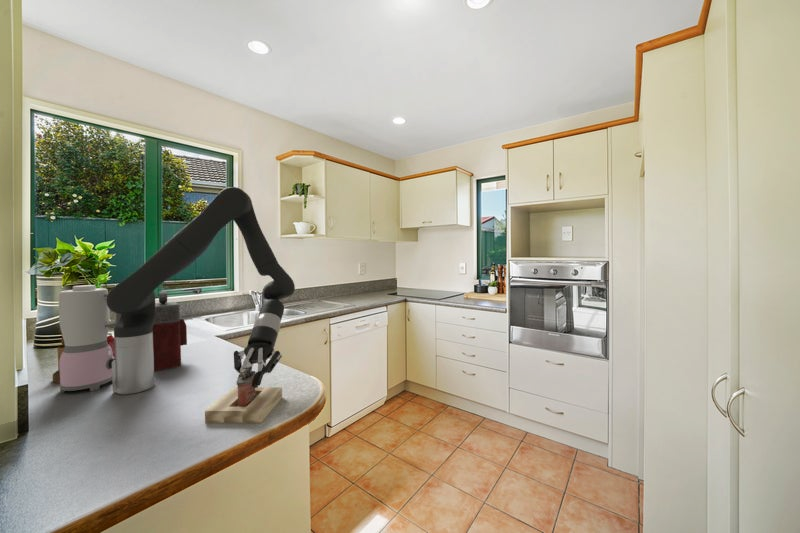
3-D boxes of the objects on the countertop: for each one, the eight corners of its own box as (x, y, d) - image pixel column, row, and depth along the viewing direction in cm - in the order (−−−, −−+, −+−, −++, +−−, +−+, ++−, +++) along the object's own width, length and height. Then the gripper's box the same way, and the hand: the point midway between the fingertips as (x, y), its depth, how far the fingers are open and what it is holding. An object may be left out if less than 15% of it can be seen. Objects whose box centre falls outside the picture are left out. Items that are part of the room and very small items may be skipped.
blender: (48, 396, 95) (42, 288, 93) (78, 380, 106) (74, 284, 105) (111, 391, 98) (107, 287, 97) (134, 376, 110) (130, 283, 109)
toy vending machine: (188, 364, 122) (186, 291, 121) (151, 372, 114) (148, 293, 113) (184, 359, 128) (182, 289, 127) (149, 365, 121) (146, 291, 120)
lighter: (246, 397, 91) (245, 362, 90) (258, 396, 91) (257, 361, 91) (234, 411, 83) (233, 373, 82) (247, 410, 83) (246, 372, 83)
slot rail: (205, 422, 80) (204, 410, 80) (234, 397, 94) (234, 387, 94) (261, 422, 80) (260, 410, 80) (282, 397, 94) (282, 387, 94)
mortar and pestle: (62, 383, 105) (60, 328, 104) (47, 381, 106) (44, 327, 105) (86, 375, 111) (83, 323, 110) (71, 374, 112) (69, 323, 112)
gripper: (237, 324, 96) (215, 381, 85) (285, 324, 96) (269, 381, 84) (247, 337, 102) (227, 392, 90) (291, 337, 102) (277, 392, 90)
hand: (247, 386), depth 87 cm, fingers closed on lighter, 3 cm apart
